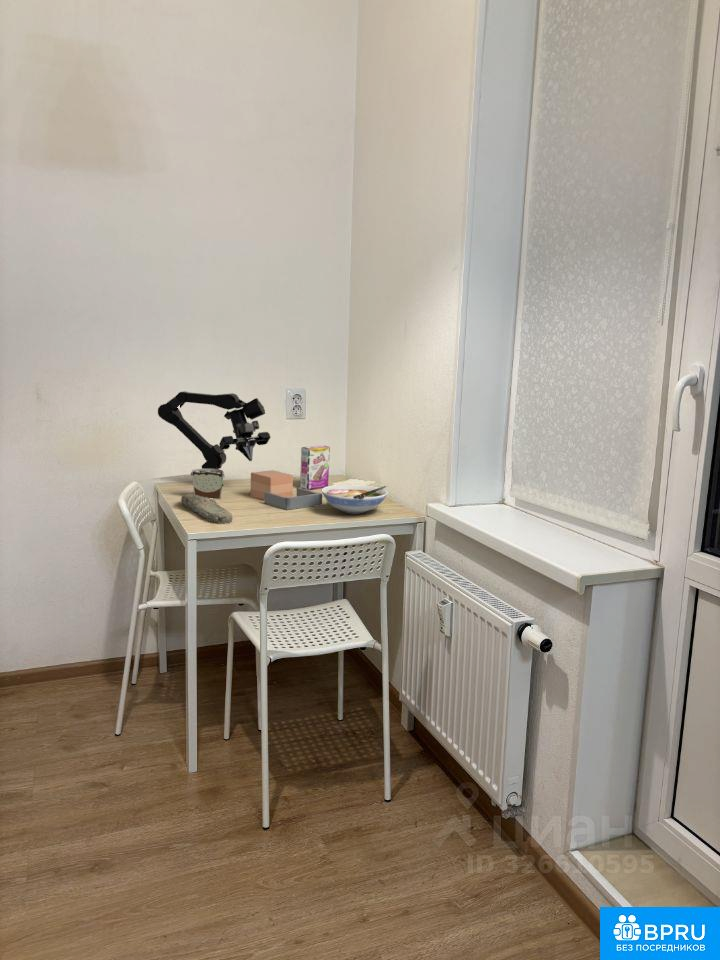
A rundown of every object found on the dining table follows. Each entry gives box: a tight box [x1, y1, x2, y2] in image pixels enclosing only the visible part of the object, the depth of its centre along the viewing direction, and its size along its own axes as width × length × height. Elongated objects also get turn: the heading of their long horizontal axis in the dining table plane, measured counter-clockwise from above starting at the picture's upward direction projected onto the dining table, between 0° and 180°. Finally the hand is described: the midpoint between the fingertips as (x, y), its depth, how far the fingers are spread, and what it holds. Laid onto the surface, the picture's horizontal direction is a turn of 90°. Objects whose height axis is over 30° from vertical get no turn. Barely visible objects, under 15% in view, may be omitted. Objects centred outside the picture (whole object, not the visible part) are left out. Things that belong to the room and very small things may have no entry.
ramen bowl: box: [320, 484, 389, 515], centre depth 265 cm, size 25×23×8 cm
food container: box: [190, 468, 226, 500], centre depth 281 cm, size 12×6×10 cm, turn 84°
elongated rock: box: [180, 493, 233, 525], centre depth 257 cm, size 35×5×10 cm
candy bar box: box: [299, 445, 331, 491], centre depth 304 cm, size 11×5×16 cm, turn 136°
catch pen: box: [264, 487, 323, 511], centre depth 274 cm, size 13×15×4 cm
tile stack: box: [250, 469, 294, 501], centre depth 283 cm, size 12×10×9 cm
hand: (250, 460), depth 291 cm, fingers closed
